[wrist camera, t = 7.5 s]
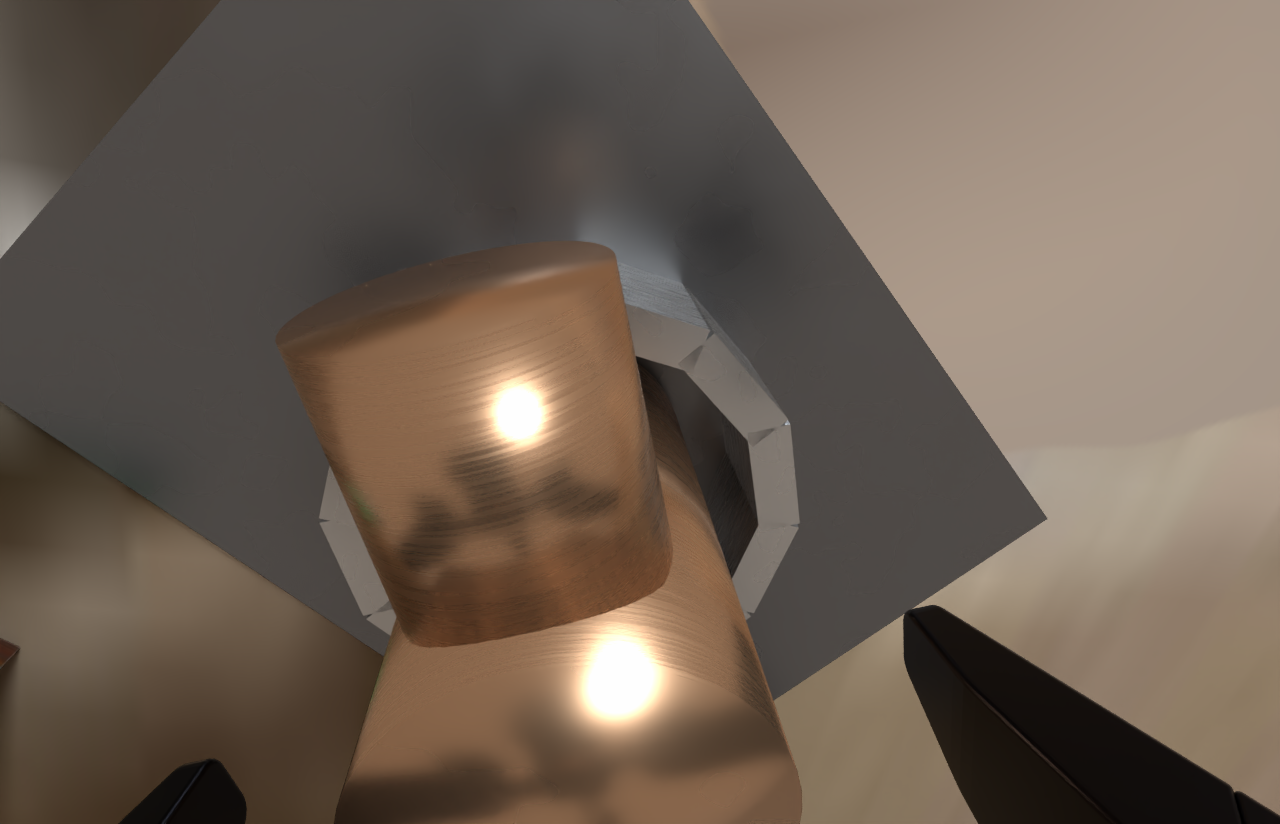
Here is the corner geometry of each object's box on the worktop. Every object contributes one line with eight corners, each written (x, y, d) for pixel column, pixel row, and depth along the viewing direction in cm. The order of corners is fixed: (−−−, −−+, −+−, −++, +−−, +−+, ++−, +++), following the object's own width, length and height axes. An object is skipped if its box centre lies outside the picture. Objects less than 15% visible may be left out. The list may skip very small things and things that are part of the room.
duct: (1024, 497, 19) (1133, 595, 15) (609, 778, 22) (618, 914, 18) (485, -271, 11) (448, -440, 7) (-37, 332, 14) (-240, 418, 11)
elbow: (632, 167, 13) (743, 298, 5) (693, 515, 17) (817, 919, 9) (373, 220, 13) (69, 438, 5) (490, 558, 17) (422, 1006, 9)
